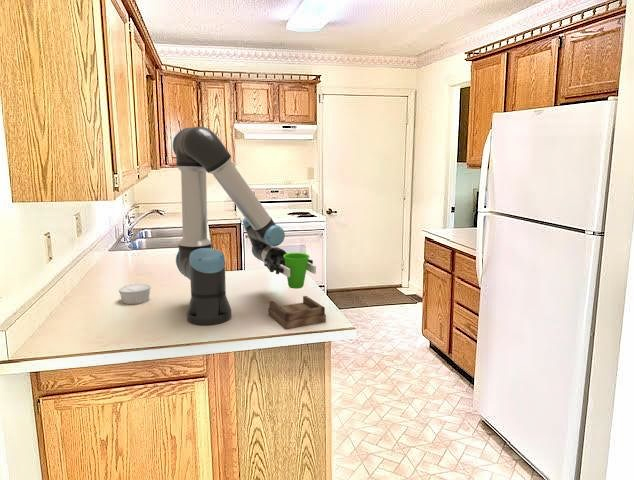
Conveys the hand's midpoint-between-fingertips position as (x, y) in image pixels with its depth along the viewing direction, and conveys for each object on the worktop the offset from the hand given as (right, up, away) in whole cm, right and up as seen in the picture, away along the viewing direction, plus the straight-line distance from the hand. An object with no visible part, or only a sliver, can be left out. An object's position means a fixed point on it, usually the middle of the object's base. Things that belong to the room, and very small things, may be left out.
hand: (302, 271), depth 156 cm
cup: (-2, -6, +5) cm, 8 cm away
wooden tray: (-2, -17, +6) cm, 18 cm away
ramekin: (-65, -13, +23) cm, 70 cm away
